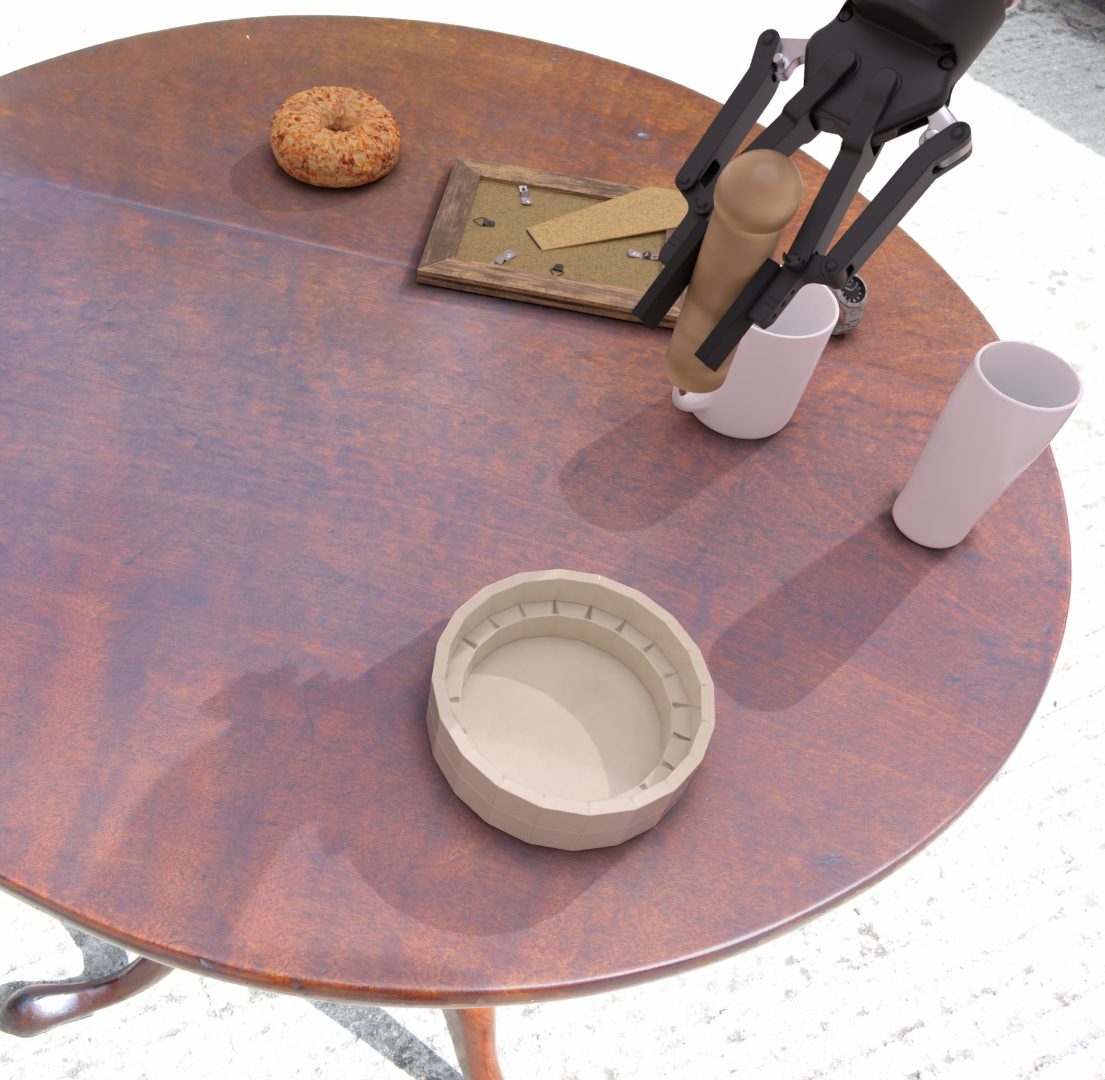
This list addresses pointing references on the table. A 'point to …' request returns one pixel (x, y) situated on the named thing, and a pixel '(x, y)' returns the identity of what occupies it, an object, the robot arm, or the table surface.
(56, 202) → the table surface
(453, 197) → the picture frame
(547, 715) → the bowl
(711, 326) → the pestle
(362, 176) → the bagel
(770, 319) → the robot arm
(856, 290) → the wristwatch
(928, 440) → the drinking glass
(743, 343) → the mug
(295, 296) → the table surface
